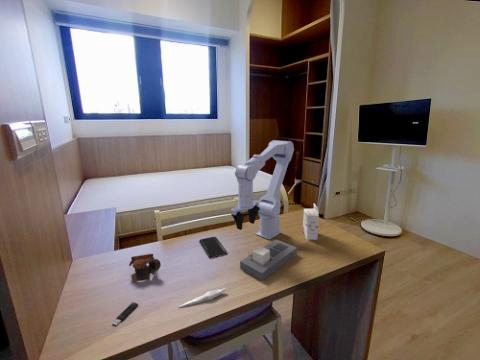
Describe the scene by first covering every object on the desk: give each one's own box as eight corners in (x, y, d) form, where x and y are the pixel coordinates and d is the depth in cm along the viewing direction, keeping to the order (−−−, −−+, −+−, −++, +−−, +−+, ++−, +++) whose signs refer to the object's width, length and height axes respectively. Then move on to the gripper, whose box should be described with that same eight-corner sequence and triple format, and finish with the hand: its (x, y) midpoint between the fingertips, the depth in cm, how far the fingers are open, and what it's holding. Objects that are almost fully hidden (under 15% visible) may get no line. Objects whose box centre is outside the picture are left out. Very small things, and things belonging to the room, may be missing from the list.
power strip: (275, 245, 103) (276, 239, 102) (296, 254, 96) (296, 247, 96) (240, 268, 88) (240, 261, 87) (261, 280, 81) (262, 272, 80)
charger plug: (259, 260, 92) (260, 246, 90) (269, 264, 89) (269, 250, 87) (252, 265, 88) (252, 250, 87) (262, 270, 86) (262, 255, 84)
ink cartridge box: (301, 231, 116) (303, 202, 112) (312, 231, 116) (314, 202, 112) (306, 240, 108) (308, 208, 104) (317, 240, 108) (320, 208, 104)
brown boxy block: (123, 283, 81) (122, 258, 83) (141, 278, 90) (140, 255, 92) (154, 279, 79) (152, 252, 81) (170, 274, 87) (168, 251, 90)
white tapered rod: (224, 289, 77) (224, 284, 77) (227, 295, 75) (227, 289, 74) (177, 306, 71) (176, 301, 71) (179, 313, 69) (178, 308, 68)
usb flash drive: (117, 327, 64) (117, 324, 64) (111, 325, 65) (111, 322, 64) (138, 306, 71) (138, 303, 71) (132, 304, 72) (132, 301, 71)
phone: (215, 236, 111) (227, 252, 97) (215, 238, 111) (227, 254, 98) (198, 239, 107) (208, 256, 94) (198, 242, 108) (208, 259, 94)
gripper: (250, 188, 105) (250, 218, 108) (225, 196, 95) (226, 228, 98) (262, 192, 100) (262, 222, 104) (238, 200, 90) (239, 234, 93)
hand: (245, 225), depth 101 cm, fingers open, 7 cm apart
